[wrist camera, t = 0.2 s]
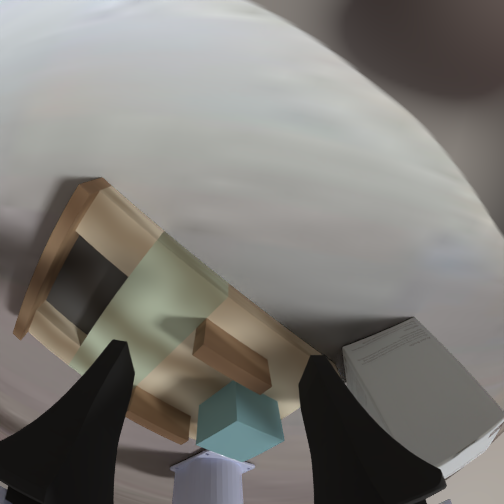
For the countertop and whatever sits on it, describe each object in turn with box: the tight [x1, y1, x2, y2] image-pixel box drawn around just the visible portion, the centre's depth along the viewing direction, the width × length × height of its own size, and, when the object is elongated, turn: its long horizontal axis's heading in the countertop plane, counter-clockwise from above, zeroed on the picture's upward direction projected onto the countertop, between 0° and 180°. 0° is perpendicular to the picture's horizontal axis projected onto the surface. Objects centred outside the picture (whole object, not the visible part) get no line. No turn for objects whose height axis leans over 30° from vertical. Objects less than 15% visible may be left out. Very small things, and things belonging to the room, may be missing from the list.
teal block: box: [196, 380, 285, 462], centre depth 21 cm, size 5×5×4 cm
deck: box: [13, 178, 341, 445], centre depth 21 cm, size 16×25×5 cm, turn 47°
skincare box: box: [342, 317, 504, 479], centre depth 18 cm, size 8×6×15 cm
